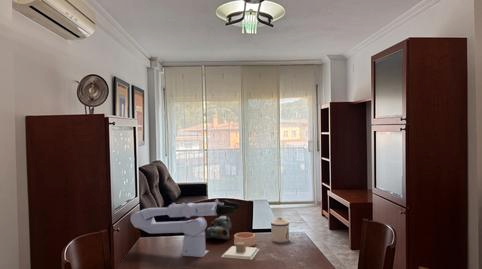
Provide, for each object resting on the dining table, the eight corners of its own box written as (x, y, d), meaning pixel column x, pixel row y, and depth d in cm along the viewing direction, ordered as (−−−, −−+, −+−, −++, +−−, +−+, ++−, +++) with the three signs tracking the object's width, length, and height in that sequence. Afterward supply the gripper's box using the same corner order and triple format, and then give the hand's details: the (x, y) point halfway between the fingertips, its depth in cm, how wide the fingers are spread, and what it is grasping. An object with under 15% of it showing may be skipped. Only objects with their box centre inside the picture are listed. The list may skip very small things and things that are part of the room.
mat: (221, 257, 157) (220, 256, 157) (231, 247, 171) (231, 246, 171) (251, 260, 153) (251, 259, 153) (259, 249, 167) (259, 248, 167)
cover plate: (223, 256, 158) (223, 246, 158) (232, 247, 170) (232, 238, 170) (250, 258, 155) (250, 248, 155) (257, 249, 166) (257, 240, 166)
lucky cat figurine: (200, 237, 188) (207, 211, 194) (221, 244, 191) (228, 218, 197) (209, 236, 175) (217, 208, 181) (231, 243, 178) (238, 216, 184)
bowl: (231, 247, 172) (231, 237, 172) (238, 240, 181) (237, 231, 181) (252, 248, 169) (251, 238, 169) (257, 242, 178) (257, 233, 178)
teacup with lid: (290, 242, 176) (289, 219, 176) (271, 243, 176) (271, 219, 176) (287, 235, 188) (287, 213, 188) (270, 236, 188) (269, 213, 188)
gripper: (200, 203, 154) (230, 201, 150) (212, 197, 168) (240, 195, 164) (202, 219, 154) (232, 218, 150) (214, 212, 168) (242, 211, 164)
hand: (236, 207), depth 157 cm, fingers open, 7 cm apart
